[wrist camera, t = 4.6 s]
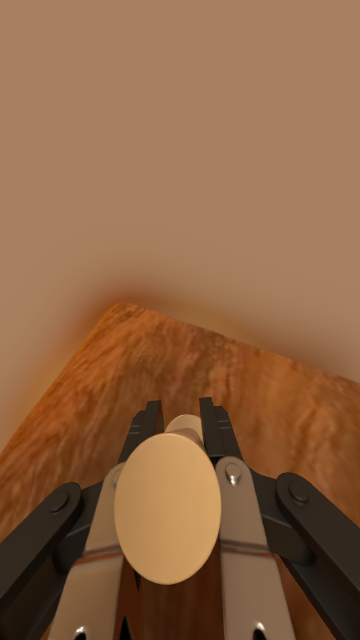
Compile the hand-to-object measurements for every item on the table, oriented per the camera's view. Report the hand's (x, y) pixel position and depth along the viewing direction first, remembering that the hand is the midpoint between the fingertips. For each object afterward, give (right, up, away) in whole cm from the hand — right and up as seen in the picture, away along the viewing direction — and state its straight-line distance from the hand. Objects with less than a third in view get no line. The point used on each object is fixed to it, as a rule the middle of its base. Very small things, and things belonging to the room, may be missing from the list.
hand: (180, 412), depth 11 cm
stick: (+1, -6, +6) cm, 9 cm away
